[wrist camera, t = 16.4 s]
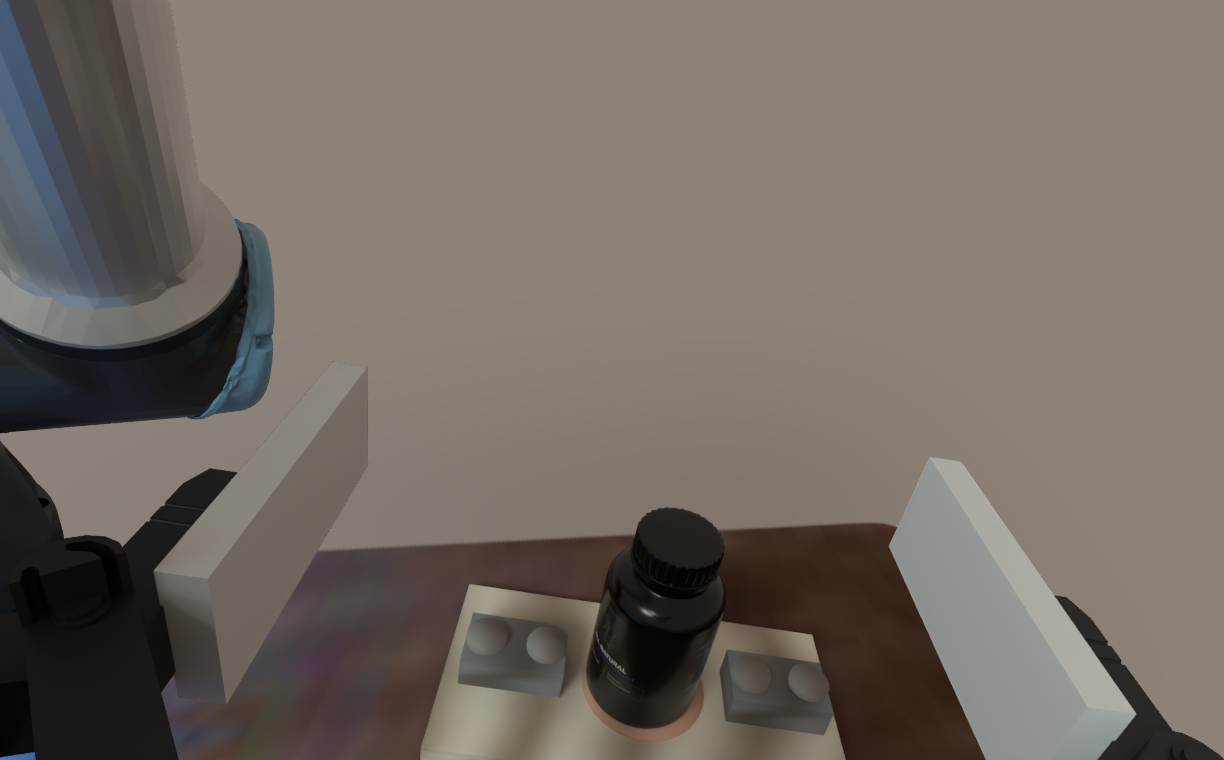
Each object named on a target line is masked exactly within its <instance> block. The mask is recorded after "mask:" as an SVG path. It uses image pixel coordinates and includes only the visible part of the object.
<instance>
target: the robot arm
mask: <svg viewBox="0 0 1224 760" xmlns="http://www.w3.org/2000/svg"><path fill="white" fill-rule="evenodd" d="M273 326H274V287H273V273H272V264H271V257H270V251H269V247H268V242H267V239H266V237H265V235H264V233H263V232H262V231H261V230H260V229H259V228H257V227H256V226H255V225H253V224H250V223H242V222H240V221H239V220H237V219H233V216H232V214H231V212H230V211H229V209H228V208H227V207H226V205H225V204H224V202H223V201H222V200H221V199H220V198H219V197H218V196H217V195H216V194H215V193H214V192H213V191H212V190H211V189H209V188H208V187H207V186H206V185H204V184H203V183H202V182H200V181H199V176H198V170H197V164H196V158H195V151H194V145H193V139H192V133H191V126H190V120H189V114H188V108H187V102H186V95H185V89H184V83H183V77H182V71H181V64H180V58H179V52H178V46H177V40H176V33H175V27H174V21H173V15H172V9H171V3H170V0H0V433H8V432H15V431H27V430H39V429H50V428H63V427H75V426H86V425H97V424H110V423H121V422H132V421H133V422H134V421H144V420H156V419H169V418H181V417H188V418H190V419H203V418H205V417H209V416H211V415H213V414H218V413H225V412H233V411H241V410H244V409H247V408H250V407H252V406H253V405H255V404H256V403H257V402H258V401H259V400H260V399H261V398H262V397H263V395H264V393H265V391H266V389H267V386H268V382H269V378H270V372H271V366H272V356H273V355H272V354H273V343H272V338H271V336H272V334H273ZM367 372H368V370H367V367H365V366H359V365H353V364H346V363H339V362H332V364H331V365H330V366H329V367H328V368H327V369H326V371H325V372H324V373H323V374H322V375H321V377H320V378H319V379H318V380H317V381H316V382H315V383H314V385H313V386H312V387H311V388H310V389H309V391H308V392H307V393H306V394H305V395H304V396H303V397H302V399H301V400H300V401H299V402H298V403H297V404H296V406H295V407H294V408H293V409H292V410H291V412H290V413H289V414H288V415H287V416H286V417H285V418H284V420H283V421H282V422H281V423H280V424H279V425H278V427H277V428H276V429H275V430H274V431H273V432H272V433H271V435H270V436H269V437H268V438H267V439H266V440H265V442H264V443H263V444H262V445H261V447H259V449H258V450H257V451H256V452H255V453H254V455H253V456H252V457H251V458H250V459H249V460H248V461H247V463H246V464H245V465H244V466H243V467H242V468H241V470H240V471H239V472H238V473H237V472H231V471H224V470H217V469H211V468H210V469H208V470H207V471H205V472H203V473H201V474H199V475H197V476H196V477H194V478H192V479H190V480H188V481H187V482H185V483H183V484H182V485H181V486H180V487H179V488H178V489H177V490H176V491H175V493H174V494H173V495H172V496H171V497H170V498H169V499H168V500H167V501H166V502H165V506H161V507H160V508H159V510H157V511H156V513H155V514H154V515H153V516H152V517H151V519H150V521H149V522H146V523H145V524H144V525H143V526H142V527H141V528H140V529H139V530H138V531H137V532H136V534H135V535H134V536H133V537H132V538H131V539H130V540H129V541H128V542H127V543H126V544H125V545H124V546H123V547H122V546H121V544H120V543H119V542H117V541H115V540H112V539H110V538H107V537H105V536H90V535H84V536H78V537H71V538H65V539H64V535H63V530H62V527H61V523H60V520H59V516H58V512H57V509H56V507H55V504H54V503H53V501H52V499H51V497H50V496H49V495H48V493H47V492H46V491H45V490H44V489H43V488H42V487H41V486H40V485H38V484H37V483H36V482H35V480H34V479H33V477H32V476H31V475H30V474H29V472H28V471H27V470H26V469H25V468H24V467H23V466H22V464H21V463H20V462H19V461H18V460H17V459H16V458H15V457H14V456H13V455H12V453H11V452H10V451H9V450H8V449H7V448H6V447H5V446H4V445H3V444H2V442H1V441H0V757H5V756H12V755H18V754H25V753H31V752H35V757H36V760H179V759H178V756H177V752H176V748H175V744H174V740H173V736H172V733H171V729H170V725H169V721H168V717H167V714H166V710H165V706H164V702H163V698H162V695H161V692H162V691H163V689H164V688H165V686H166V685H167V683H168V682H169V680H170V679H171V678H172V676H173V675H174V678H175V683H176V688H177V693H178V698H184V699H191V700H198V701H205V702H213V703H220V704H227V703H228V701H229V699H230V698H231V696H232V694H233V693H234V691H235V689H236V688H237V686H238V684H239V683H240V681H241V679H242V677H243V676H244V674H245V672H246V671H247V669H248V667H249V666H250V664H251V662H252V661H253V659H254V657H255V656H256V654H257V652H258V650H259V649H260V647H261V645H262V644H263V642H264V640H265V639H266V637H267V635H268V634H269V632H270V630H271V628H272V627H273V625H274V623H275V622H276V620H277V618H278V617H279V615H280V613H281V612H282V610H283V608H284V606H285V605H286V603H287V601H288V600H289V598H290V596H291V595H292V593H293V591H294V590H295V588H296V586H297V585H298V583H299V581H300V579H301V578H302V576H303V574H304V573H305V571H306V569H307V568H308V566H309V564H310V563H311V561H312V559H313V557H314V556H315V554H316V552H317V551H318V549H319V547H320V545H321V544H322V542H323V540H324V539H325V537H326V536H327V534H328V532H329V530H330V529H331V527H332V525H333V524H334V522H335V520H336V518H337V517H338V515H339V513H340V512H341V510H342V508H343V507H344V505H345V503H346V502H347V500H348V498H349V497H350V495H351V493H352V491H353V490H354V488H355V487H356V485H357V483H358V481H359V480H360V478H361V476H362V475H363V473H364V471H365V470H366V468H367V466H368V396H367V395H368V390H367V389H368V385H367V383H368V382H367V377H368V375H367V374H368V373H367ZM889 548H890V550H891V552H892V554H893V556H894V559H895V561H896V563H897V565H898V567H899V570H900V572H901V574H902V576H903V578H904V581H905V583H906V585H907V587H908V589H909V592H910V594H911V596H912V598H913V600H914V603H915V605H916V607H917V609H918V611H919V614H920V616H921V618H922V620H923V622H924V625H925V627H926V629H927V631H928V633H929V636H930V638H931V640H932V642H933V644H934V647H935V649H936V651H937V653H938V655H939V658H940V660H941V662H942V664H943V666H944V669H945V671H946V673H947V675H948V677H949V680H950V682H951V684H952V686H953V688H954V691H955V693H956V695H957V697H958V699H959V702H960V704H961V706H962V708H963V710H964V713H965V715H966V717H967V719H968V722H969V724H970V726H971V728H972V730H973V733H974V735H975V737H976V739H977V741H978V744H979V746H980V748H981V750H982V752H983V755H984V757H985V759H986V760H1224V759H1223V758H1222V757H1221V756H1220V755H1219V754H1217V753H1216V752H1214V751H1213V750H1212V749H1210V748H1209V747H1207V746H1206V745H1204V744H1203V743H1201V742H1200V741H1198V740H1196V739H1194V738H1192V737H1189V736H1187V735H1185V734H1183V733H1179V732H1175V731H1172V729H1171V728H1170V726H1169V725H1168V724H1167V722H1166V721H1165V720H1164V718H1163V717H1162V715H1161V714H1160V713H1159V711H1158V710H1157V709H1156V708H1155V706H1154V704H1153V703H1152V702H1151V700H1150V699H1149V698H1148V696H1147V695H1146V693H1145V692H1144V691H1143V689H1142V688H1141V687H1140V685H1139V684H1138V682H1137V681H1136V680H1135V678H1134V677H1133V676H1132V674H1131V673H1130V672H1129V670H1128V669H1127V667H1126V666H1125V665H1122V664H1121V659H1120V658H1119V656H1118V655H1117V654H1116V652H1115V651H1114V650H1113V648H1112V647H1111V646H1108V645H1107V643H1108V641H1107V640H1106V639H1105V637H1104V636H1103V634H1102V633H1101V632H1100V630H1099V629H1098V628H1097V626H1096V625H1095V623H1094V622H1093V621H1092V620H1091V618H1090V617H1088V616H1087V615H1086V614H1085V613H1084V612H1083V611H1082V610H1080V609H1079V608H1078V607H1077V606H1076V605H1075V604H1074V603H1072V602H1071V601H1070V600H1069V599H1068V598H1066V597H1061V596H1055V595H1053V593H1052V592H1051V590H1050V589H1049V588H1048V586H1047V585H1046V583H1045V582H1044V580H1043V579H1042V577H1041V576H1040V575H1039V573H1038V572H1037V570H1036V569H1035V567H1034V566H1033V565H1032V563H1031V562H1030V560H1029V559H1028V557H1027V556H1026V554H1025V553H1024V552H1023V550H1022V549H1021V547H1020V546H1019V544H1018V543H1017V542H1016V540H1015V539H1014V537H1013V536H1012V534H1011V533H1010V531H1009V530H1008V528H1007V527H1006V526H1005V525H1004V523H1003V521H1002V520H1001V518H1000V517H999V516H998V515H997V513H996V511H995V510H994V508H993V507H992V506H991V504H990V503H989V501H988V500H987V498H986V497H985V495H984V494H983V492H982V491H981V490H980V488H979V487H978V485H977V484H976V482H975V481H974V480H973V478H972V477H971V475H970V474H969V472H968V471H967V470H966V468H965V467H964V465H963V464H962V462H958V461H951V460H945V459H939V458H933V457H930V458H929V460H928V462H927V464H926V466H925V468H924V471H923V473H922V475H921V477H920V479H919V482H918V484H917V486H916V488H915V490H914V493H913V495H912V497H911V499H910V501H909V503H908V505H907V508H906V510H905V512H904V514H903V516H902V519H901V521H900V523H899V525H898V527H897V529H896V532H895V534H894V536H893V538H892V540H891V543H890V545H889ZM15 609H16V610H17V612H12V611H13V610H15Z"/></svg>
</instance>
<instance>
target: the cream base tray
mask: <svg viewBox="0 0 1224 760" xmlns="http://www.w3.org/2000/svg"><path fill="white" fill-rule="evenodd" d="M599 606H600V603H594V602H587V601H580V600H573V599H567V598H560V597H553V596H546V595H540V594H533V593H526V592H519V591H512V590H506V589H499V588H492V587H485V586H479V585H472V584H469V588H468V591H467V594H466V598H465V601H464V605H463V608H462V611H461V615H460V618H459V621H458V625H457V628H456V631H455V635H454V638H453V642H452V645H451V648H450V652H449V655H448V658H447V662H446V665H445V669H444V672H443V675H442V679H441V682H440V685H439V689H438V692H437V696H436V699H435V702H434V706H433V709H432V712H431V716H430V719H429V723H428V726H427V729H426V733H425V736H424V739H423V743H422V746H421V756H420V760H846V759H845V755H844V752H843V748H842V744H841V740H840V737H839V733H838V729H837V725H836V722H835V718H834V712H833V709H832V705H831V701H830V698H829V694H828V691H829V682H828V680H827V678H826V676H825V675H824V674H823V672H822V668H821V664H820V662H819V659H818V655H817V651H816V647H815V644H814V640H813V636H812V635H810V634H803V633H797V632H790V631H783V630H776V629H770V628H763V627H756V626H749V625H743V624H736V623H729V622H722V621H721V623H720V626H719V628H718V631H717V634H716V637H715V640H714V642H713V645H712V648H711V651H710V654H709V656H708V659H707V662H706V665H705V668H704V671H703V673H702V676H701V679H700V682H699V685H698V687H697V690H696V693H695V695H694V698H693V700H692V703H691V705H690V707H689V708H688V710H687V711H686V712H685V714H684V715H683V716H681V717H680V718H679V719H678V720H677V721H675V722H673V723H672V724H669V725H667V726H664V727H661V728H656V729H640V728H634V727H630V726H627V725H625V724H622V723H620V722H618V721H616V720H615V719H613V718H612V717H610V716H609V715H608V714H606V713H605V712H604V711H603V710H602V709H601V708H600V707H599V705H598V704H597V703H596V701H595V700H594V698H593V697H592V695H591V693H590V690H589V688H588V684H587V680H586V664H587V659H588V654H589V649H590V645H591V640H592V636H593V632H594V627H595V623H596V619H597V615H598V610H599Z"/></svg>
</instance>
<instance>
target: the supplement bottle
mask: <svg viewBox="0 0 1224 760" xmlns="http://www.w3.org/2000/svg"><path fill="white" fill-rule="evenodd" d="M723 542H724V540H723V539H722V537H721V534H720V533H719V532H718V530H717V528H716V527H714V526H713V524H712V523H710V522H709V521H708V520H707V519H706V518H704V517H701V516H700V515H699V514H696V513H693V512H691V511H686V510H684V509H677V508H659V509H657V510H652V511H651V512H650V513H647V514H646V516H644V517H642V519H641V521H640V522H639V524H638V527H637V530H636V534H635V537H634V539H633V542H632V544H631V545H629V546H628V547H626V548H625V549H623V550H622V551H621V552H620V553H619V554H618V555H617V556H616V557H615V558H614V559H613V561H612V563H611V564H610V567H609V569H608V573H607V576H606V580H605V584H604V589H603V593H602V597H601V602H600V606H599V610H598V615H597V619H596V623H595V627H594V632H593V636H592V640H591V645H590V649H589V654H588V659H587V664H586V680H587V684H588V688H589V690H590V693H591V695H592V697H593V698H594V700H595V701H596V703H597V704H598V705H599V707H600V708H601V709H602V710H603V711H604V712H605V713H606V714H608V715H609V716H610V717H612V718H613V719H615V720H616V721H618V722H620V723H622V724H625V725H627V726H630V727H634V728H640V729H656V728H661V727H664V726H667V725H669V724H672V723H673V722H675V721H677V720H678V719H679V718H680V717H681V716H683V715H684V714H685V712H686V711H687V710H688V708H689V707H690V705H691V703H692V700H693V698H694V695H695V693H696V690H697V687H698V685H699V682H700V679H701V676H702V673H703V671H704V668H705V665H706V662H707V659H708V656H709V654H710V651H711V648H712V645H713V642H714V640H715V637H716V634H717V631H718V628H719V626H720V623H721V620H722V617H723V614H724V610H725V606H726V591H725V587H724V584H723V581H722V578H721V576H720V574H719V571H720V564H721V561H722V558H723V555H724V547H725V546H724V544H723Z"/></svg>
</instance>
